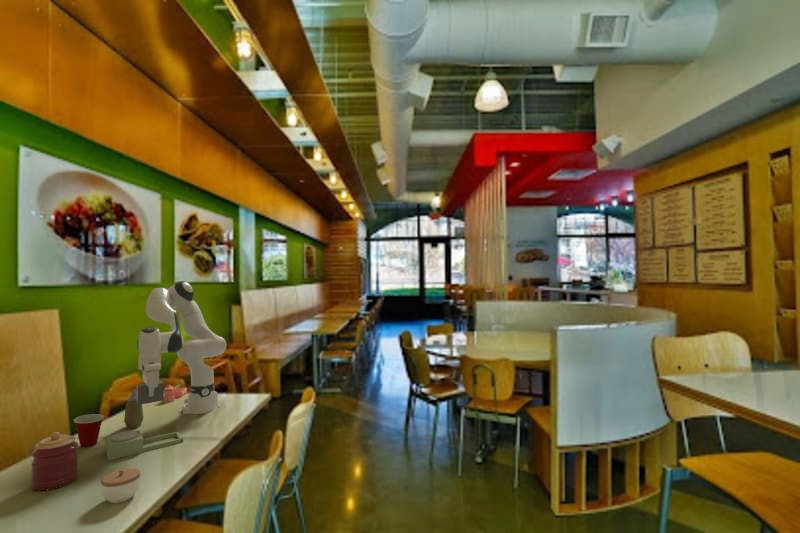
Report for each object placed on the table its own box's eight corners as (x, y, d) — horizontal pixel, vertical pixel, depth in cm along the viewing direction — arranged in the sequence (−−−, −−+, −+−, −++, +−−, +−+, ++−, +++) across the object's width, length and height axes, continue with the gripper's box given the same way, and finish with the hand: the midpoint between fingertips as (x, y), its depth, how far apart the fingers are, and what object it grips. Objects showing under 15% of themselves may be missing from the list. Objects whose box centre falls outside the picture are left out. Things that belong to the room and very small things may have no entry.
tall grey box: (136, 402, 191) (136, 384, 192) (161, 398, 198) (161, 380, 198) (137, 404, 188) (137, 386, 188) (163, 400, 194) (163, 382, 194)
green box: (105, 451, 177) (105, 434, 177) (177, 435, 194) (177, 419, 194) (108, 461, 168) (108, 442, 168) (183, 443, 184) (183, 426, 184)
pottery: (170, 395, 262) (170, 379, 262) (186, 394, 263) (186, 378, 263) (157, 404, 244) (157, 386, 244) (175, 403, 245) (175, 386, 245)
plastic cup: (93, 449, 179) (93, 421, 179) (67, 450, 178) (67, 421, 179) (110, 439, 190) (110, 412, 190) (85, 440, 189) (85, 413, 190)
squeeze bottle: (147, 423, 210) (147, 387, 210) (135, 429, 202) (135, 391, 202) (132, 423, 211) (132, 387, 211) (119, 429, 203) (119, 391, 203)
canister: (72, 470, 160) (72, 423, 160) (83, 480, 152) (83, 430, 152) (27, 484, 150) (27, 433, 150) (35, 495, 141) (35, 442, 142)
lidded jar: (147, 490, 144) (147, 462, 144) (128, 507, 133) (128, 477, 133) (114, 491, 144) (114, 463, 144) (93, 508, 133) (93, 478, 133)
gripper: (138, 361, 199) (139, 391, 199) (144, 368, 183) (145, 400, 183) (154, 359, 203) (154, 388, 203) (161, 366, 187) (161, 397, 187)
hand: (150, 394), depth 193 cm, fingers closed on tall grey box, 5 cm apart
